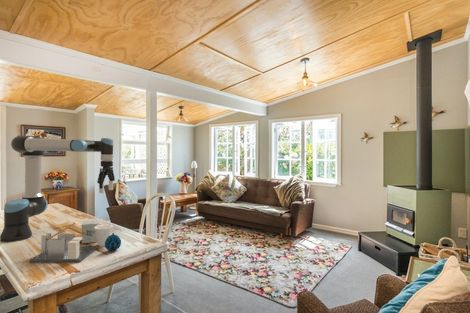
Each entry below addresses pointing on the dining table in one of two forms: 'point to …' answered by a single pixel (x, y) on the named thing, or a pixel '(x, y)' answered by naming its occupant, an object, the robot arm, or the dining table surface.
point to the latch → (74, 248)
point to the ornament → (112, 242)
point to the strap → (62, 230)
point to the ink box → (89, 231)
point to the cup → (102, 233)
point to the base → (65, 258)
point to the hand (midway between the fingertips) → (106, 191)
